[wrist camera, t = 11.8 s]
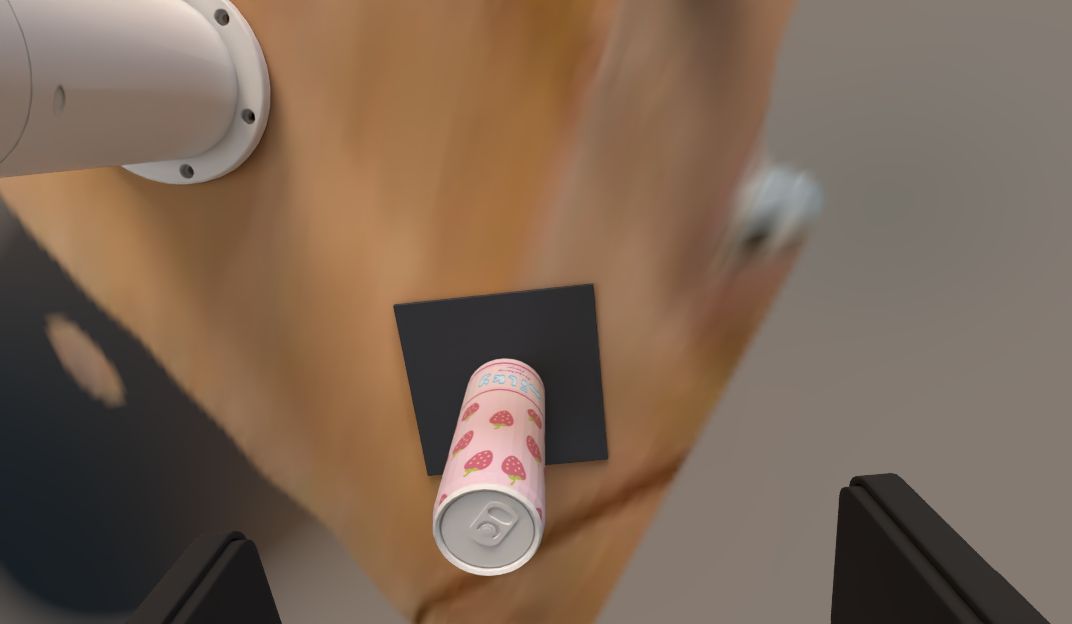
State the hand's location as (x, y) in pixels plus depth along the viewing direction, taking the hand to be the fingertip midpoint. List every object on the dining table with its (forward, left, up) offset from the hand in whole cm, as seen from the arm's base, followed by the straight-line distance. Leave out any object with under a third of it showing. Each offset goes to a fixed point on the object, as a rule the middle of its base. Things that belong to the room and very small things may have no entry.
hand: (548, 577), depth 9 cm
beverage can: (+11, -4, -30) cm, 33 cm away
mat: (+11, -4, -30) cm, 32 cm away
